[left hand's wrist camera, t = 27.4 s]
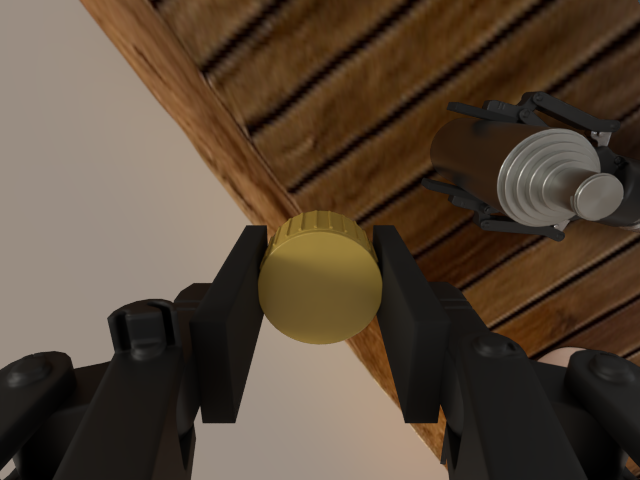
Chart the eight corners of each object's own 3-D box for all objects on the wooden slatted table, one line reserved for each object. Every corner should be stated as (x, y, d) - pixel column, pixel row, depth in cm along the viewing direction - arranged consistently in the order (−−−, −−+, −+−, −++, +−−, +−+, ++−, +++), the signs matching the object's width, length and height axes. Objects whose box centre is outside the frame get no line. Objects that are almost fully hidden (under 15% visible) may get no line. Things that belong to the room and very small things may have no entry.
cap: (259, 301, 15) (249, 336, 13) (272, 200, 13) (263, 220, 11) (362, 316, 15) (369, 353, 13) (385, 218, 14) (398, 241, 11)
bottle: (429, 122, 45) (543, 143, 22) (492, 113, 45) (675, 126, 22) (430, 184, 48) (534, 261, 25) (491, 176, 48) (652, 247, 24)
